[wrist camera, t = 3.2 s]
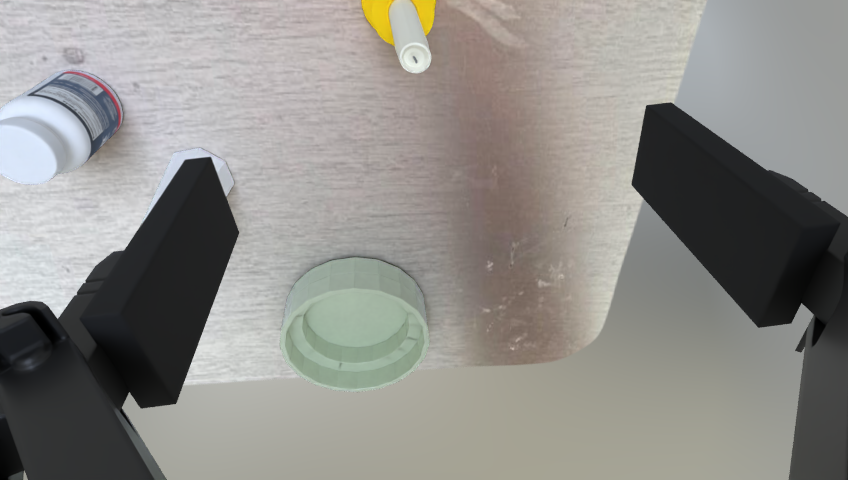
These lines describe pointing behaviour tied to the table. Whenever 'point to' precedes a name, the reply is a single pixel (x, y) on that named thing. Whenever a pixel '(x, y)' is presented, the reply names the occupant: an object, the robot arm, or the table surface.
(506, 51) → the table surface
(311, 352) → the bowl
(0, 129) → the pill bottle
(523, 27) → the table surface
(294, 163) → the table surface
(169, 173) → the pepper shaker
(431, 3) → the candle
